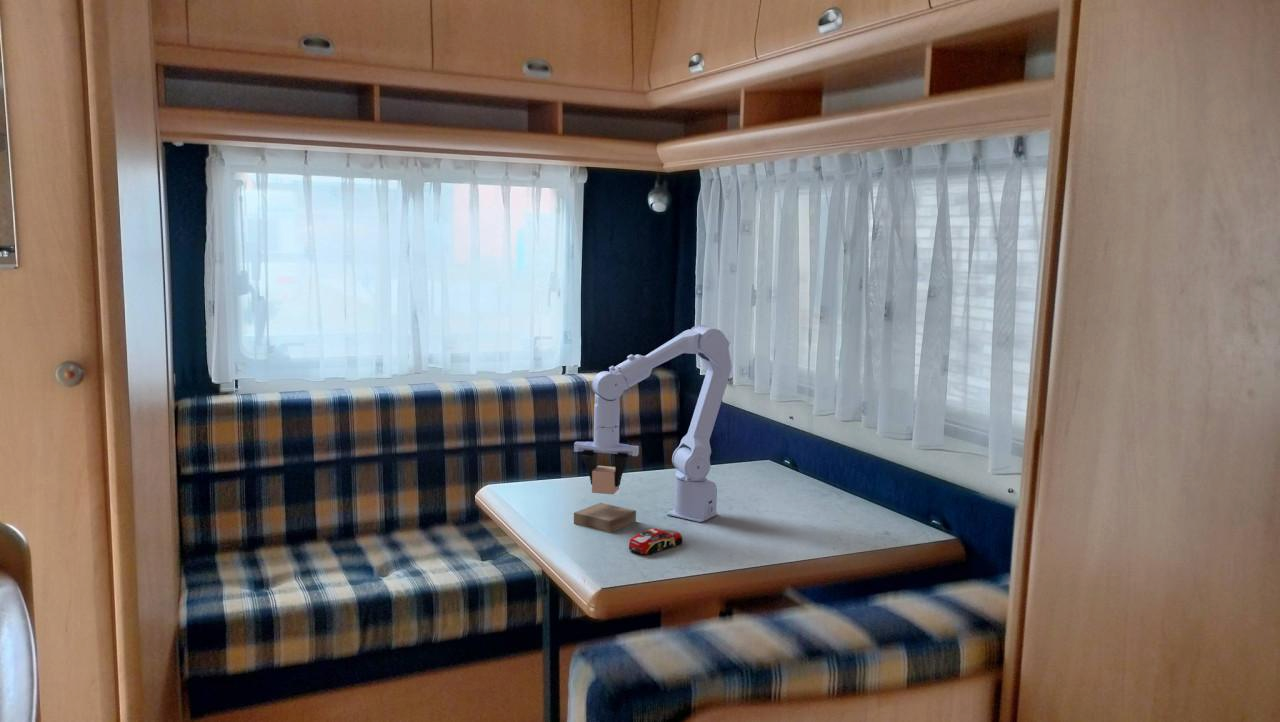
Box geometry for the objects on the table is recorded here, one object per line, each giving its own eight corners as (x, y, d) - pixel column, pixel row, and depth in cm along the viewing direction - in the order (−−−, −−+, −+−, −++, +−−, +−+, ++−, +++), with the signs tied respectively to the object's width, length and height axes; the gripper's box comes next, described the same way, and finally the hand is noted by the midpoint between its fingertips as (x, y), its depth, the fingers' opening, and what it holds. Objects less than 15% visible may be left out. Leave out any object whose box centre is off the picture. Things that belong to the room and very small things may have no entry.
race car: (669, 538, 199) (669, 520, 199) (687, 545, 196) (688, 526, 195) (624, 551, 190) (624, 532, 190) (642, 558, 186) (642, 539, 186)
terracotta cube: (619, 488, 211) (619, 467, 210) (613, 494, 206) (613, 472, 205) (597, 487, 212) (598, 465, 211) (591, 492, 207) (592, 470, 206)
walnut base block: (635, 523, 210) (636, 510, 209) (609, 534, 202) (609, 521, 201) (600, 515, 215) (600, 502, 215) (573, 525, 207) (573, 512, 207)
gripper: (642, 424, 209) (640, 482, 211) (580, 419, 212) (579, 477, 214) (635, 430, 202) (633, 490, 204) (571, 425, 205) (570, 485, 207)
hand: (605, 484), depth 209 cm, fingers closed on terracotta cube, 5 cm apart
